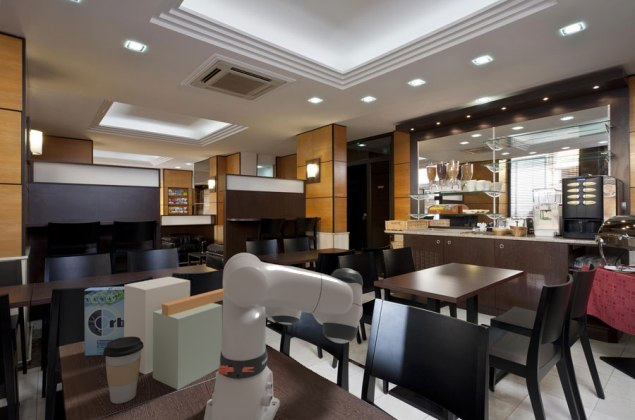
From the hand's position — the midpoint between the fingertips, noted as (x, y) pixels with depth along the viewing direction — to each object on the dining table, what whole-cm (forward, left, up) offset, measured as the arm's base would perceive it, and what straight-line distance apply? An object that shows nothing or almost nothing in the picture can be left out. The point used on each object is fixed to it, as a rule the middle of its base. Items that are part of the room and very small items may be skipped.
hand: (239, 290), depth 122 cm
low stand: (-18, +12, -21) cm, 30 cm away
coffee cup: (-32, +24, -21) cm, 45 cm away
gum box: (-3, +42, -21) cm, 47 cm away
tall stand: (-10, +25, -21) cm, 34 cm away
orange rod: (-14, +9, -1) cm, 17 cm away
